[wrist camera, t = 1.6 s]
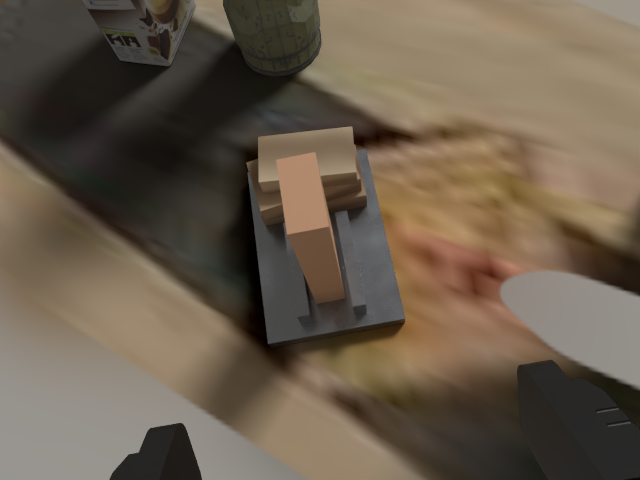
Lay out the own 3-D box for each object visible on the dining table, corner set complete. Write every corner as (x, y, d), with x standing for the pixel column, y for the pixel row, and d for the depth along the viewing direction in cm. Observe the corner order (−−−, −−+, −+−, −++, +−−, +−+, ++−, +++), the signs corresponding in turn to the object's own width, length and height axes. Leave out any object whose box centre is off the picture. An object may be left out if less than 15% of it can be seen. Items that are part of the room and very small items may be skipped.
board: (345, 298, 42) (328, 226, 29) (316, 303, 42) (286, 234, 29) (335, 242, 44) (315, 151, 31) (307, 247, 44) (275, 159, 31)
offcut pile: (368, 212, 44) (366, 179, 39) (262, 233, 45) (246, 202, 39) (355, 155, 47) (352, 116, 41) (255, 175, 47) (239, 138, 42)
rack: (404, 323, 42) (406, 309, 38) (271, 347, 42) (261, 337, 39) (366, 157, 48) (365, 133, 45) (251, 180, 49) (240, 157, 45)
